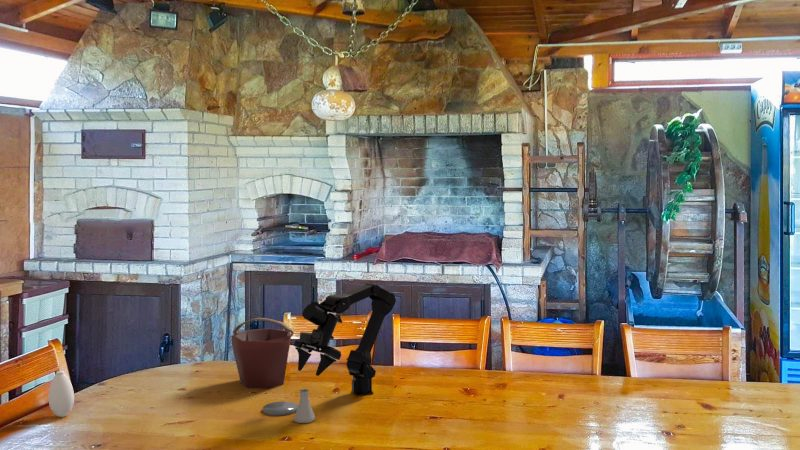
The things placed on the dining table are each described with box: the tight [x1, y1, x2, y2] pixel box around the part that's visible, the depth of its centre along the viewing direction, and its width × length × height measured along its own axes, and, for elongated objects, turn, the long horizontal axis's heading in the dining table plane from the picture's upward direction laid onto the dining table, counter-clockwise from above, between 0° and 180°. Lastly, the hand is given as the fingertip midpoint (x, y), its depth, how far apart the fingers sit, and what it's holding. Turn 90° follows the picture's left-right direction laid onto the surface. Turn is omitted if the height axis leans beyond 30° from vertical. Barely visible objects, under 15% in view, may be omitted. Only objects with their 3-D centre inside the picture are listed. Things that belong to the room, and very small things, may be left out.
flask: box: [293, 388, 316, 424], centre depth 247 cm, size 7×7×10 cm
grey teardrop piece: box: [48, 363, 75, 418], centre depth 252 cm, size 8×8×18 cm
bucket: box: [231, 317, 294, 390], centre depth 288 cm, size 24×22×25 cm
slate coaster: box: [262, 401, 299, 417], centre depth 257 cm, size 12×12×1 cm
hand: (307, 373), depth 255 cm, fingers open, 9 cm apart
